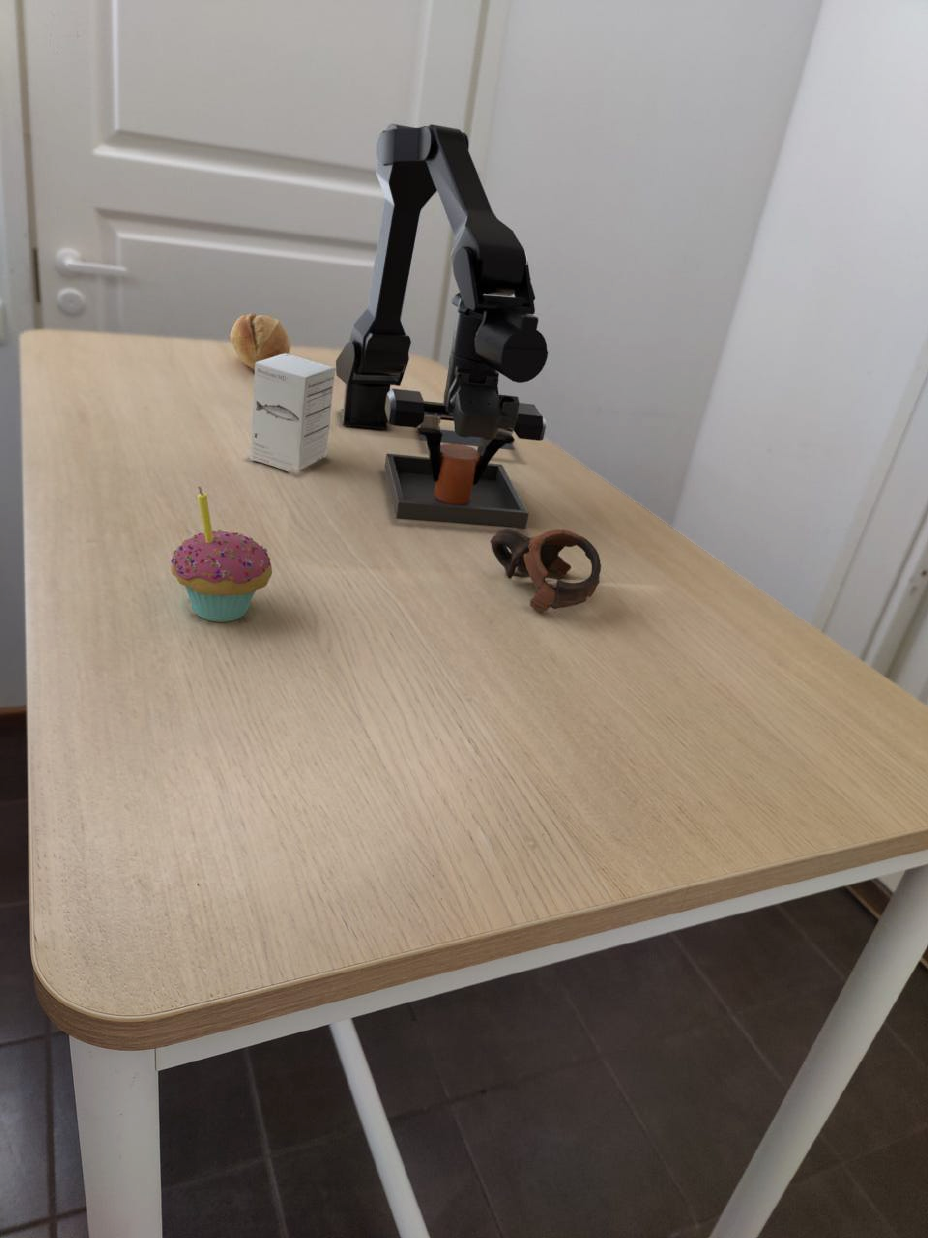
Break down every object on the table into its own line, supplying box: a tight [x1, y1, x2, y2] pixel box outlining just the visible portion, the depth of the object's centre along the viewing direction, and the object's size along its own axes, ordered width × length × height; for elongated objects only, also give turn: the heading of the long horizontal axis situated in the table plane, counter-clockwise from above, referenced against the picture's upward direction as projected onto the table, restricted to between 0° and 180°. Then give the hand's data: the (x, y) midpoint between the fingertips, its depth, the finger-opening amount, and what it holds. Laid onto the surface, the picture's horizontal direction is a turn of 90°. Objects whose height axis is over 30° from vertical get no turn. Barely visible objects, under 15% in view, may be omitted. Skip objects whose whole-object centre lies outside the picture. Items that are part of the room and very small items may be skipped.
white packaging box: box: [249, 353, 336, 472], centre depth 110 cm, size 7×7×13 cm
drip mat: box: [418, 429, 515, 451], centre depth 130 cm, size 14×10×1 cm
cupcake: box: [171, 485, 273, 623], centre depth 77 cm, size 9×8×12 cm
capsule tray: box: [384, 453, 529, 530], centre depth 110 cm, size 16×16×3 cm
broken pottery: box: [490, 528, 602, 614], centre depth 91 cm, size 12×10×8 cm
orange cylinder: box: [434, 443, 481, 504], centre depth 108 cm, size 5×5×6 cm
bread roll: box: [230, 313, 291, 371], centre depth 146 cm, size 10×15×8 cm, turn 19°
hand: (454, 481), depth 109 cm, fingers closed on orange cylinder, 4 cm apart
